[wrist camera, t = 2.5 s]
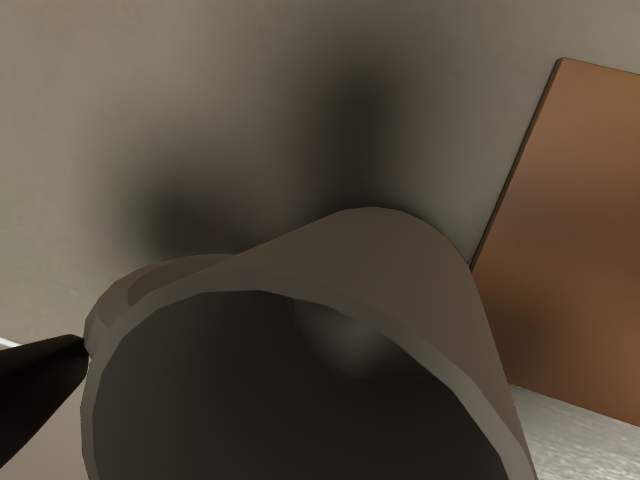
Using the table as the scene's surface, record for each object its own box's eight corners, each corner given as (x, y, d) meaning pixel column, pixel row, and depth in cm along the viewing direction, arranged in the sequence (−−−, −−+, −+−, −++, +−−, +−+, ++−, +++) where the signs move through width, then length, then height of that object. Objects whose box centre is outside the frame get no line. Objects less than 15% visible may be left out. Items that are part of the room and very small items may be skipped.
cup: (439, 418, 14) (439, 809, 5) (212, 324, 16) (-30, 492, 8) (510, 238, 12) (683, 410, 3) (241, 162, 14) (-37, 155, 6)
